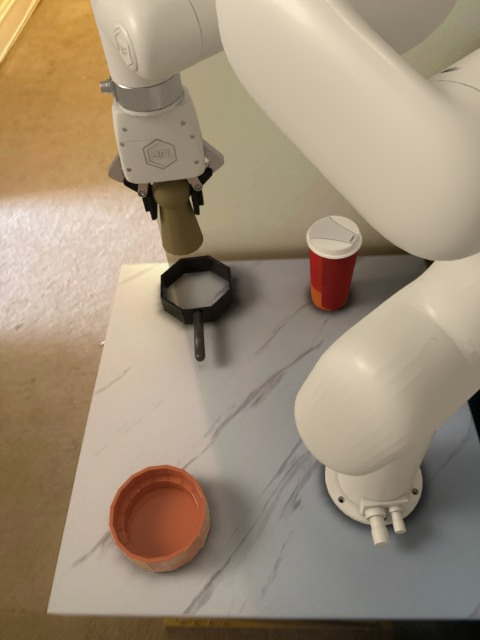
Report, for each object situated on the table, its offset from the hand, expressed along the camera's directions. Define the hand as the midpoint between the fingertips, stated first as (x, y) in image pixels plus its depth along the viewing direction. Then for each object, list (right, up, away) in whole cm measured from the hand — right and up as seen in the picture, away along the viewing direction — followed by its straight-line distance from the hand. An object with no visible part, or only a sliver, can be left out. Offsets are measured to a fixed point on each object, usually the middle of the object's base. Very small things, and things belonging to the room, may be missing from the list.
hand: (175, 209), depth 77 cm
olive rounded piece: (0, -4, +5) cm, 6 cm away
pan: (+2, -15, +17) cm, 23 cm away
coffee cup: (+24, -11, +18) cm, 32 cm away
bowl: (-1, -42, -4) cm, 42 cm away
